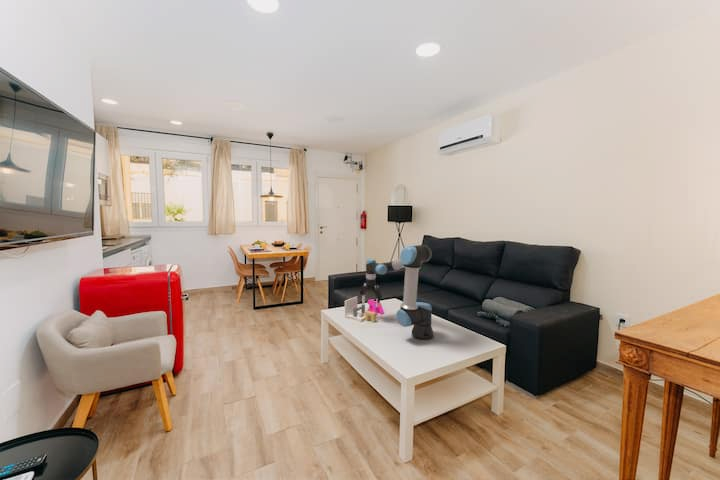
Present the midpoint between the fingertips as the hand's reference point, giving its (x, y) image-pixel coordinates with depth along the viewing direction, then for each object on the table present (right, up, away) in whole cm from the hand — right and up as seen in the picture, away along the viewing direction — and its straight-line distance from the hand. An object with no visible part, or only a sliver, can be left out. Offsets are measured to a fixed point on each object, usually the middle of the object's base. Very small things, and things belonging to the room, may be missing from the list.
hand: (370, 304), depth 231 cm
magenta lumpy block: (+5, -12, +21) cm, 25 cm away
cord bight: (0, -13, +1) cm, 13 cm away
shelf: (-9, -12, +10) cm, 18 cm away
